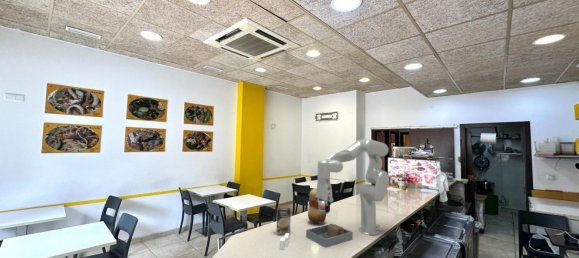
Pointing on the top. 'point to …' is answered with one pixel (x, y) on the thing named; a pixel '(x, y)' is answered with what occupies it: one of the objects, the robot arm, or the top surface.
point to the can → (322, 206)
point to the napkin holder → (285, 241)
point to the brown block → (335, 230)
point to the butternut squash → (315, 209)
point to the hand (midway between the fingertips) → (323, 210)
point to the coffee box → (283, 220)
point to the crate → (322, 236)
